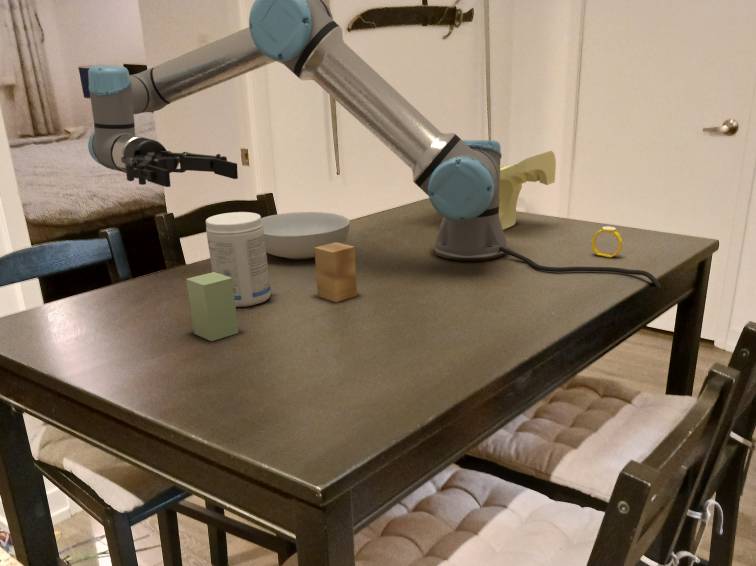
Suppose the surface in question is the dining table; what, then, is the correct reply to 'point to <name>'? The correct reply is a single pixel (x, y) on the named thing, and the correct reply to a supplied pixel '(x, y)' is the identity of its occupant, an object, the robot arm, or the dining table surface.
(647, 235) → the dining table surface
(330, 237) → the serving bowl
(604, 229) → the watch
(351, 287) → the beech block
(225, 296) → the sage block
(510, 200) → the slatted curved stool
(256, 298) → the supplement tub
